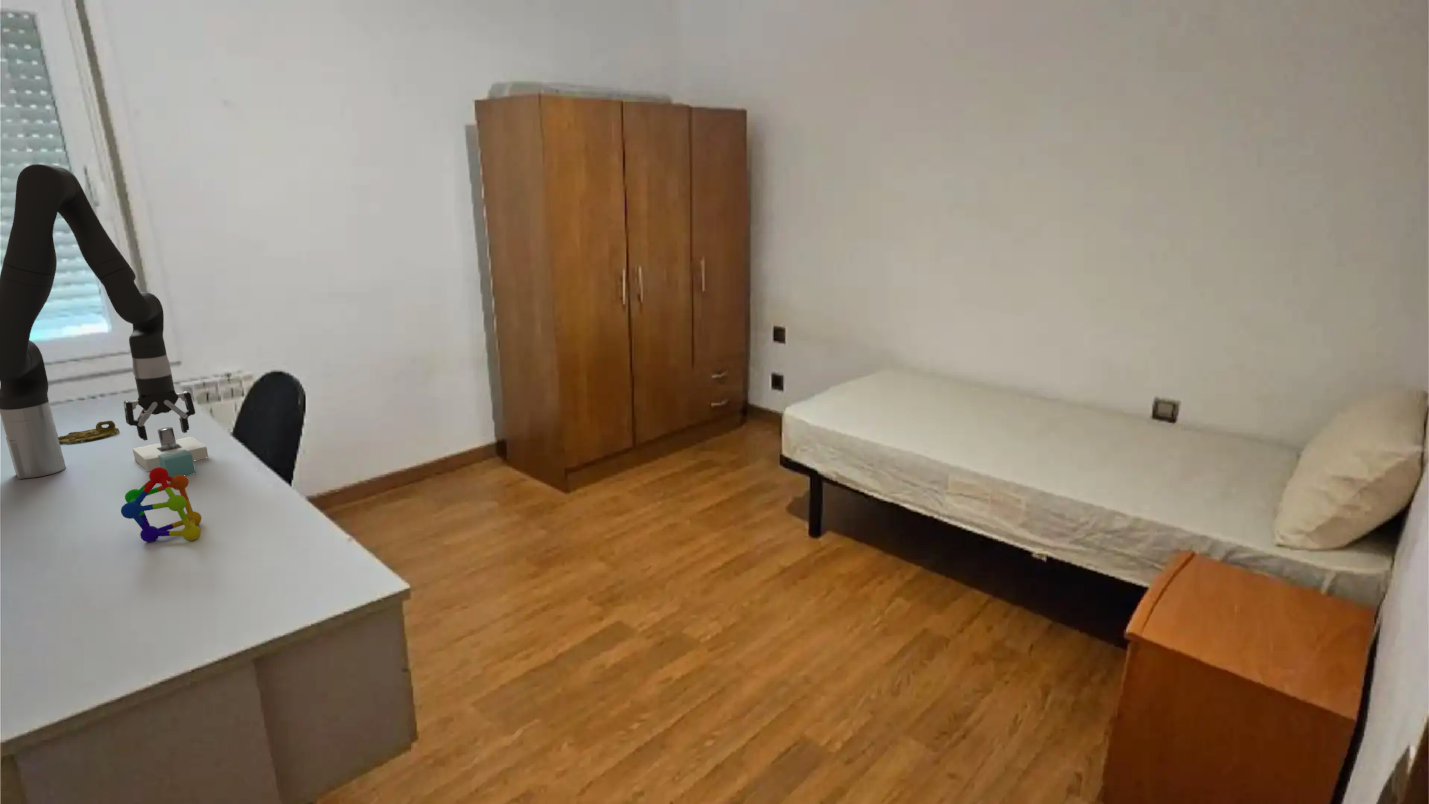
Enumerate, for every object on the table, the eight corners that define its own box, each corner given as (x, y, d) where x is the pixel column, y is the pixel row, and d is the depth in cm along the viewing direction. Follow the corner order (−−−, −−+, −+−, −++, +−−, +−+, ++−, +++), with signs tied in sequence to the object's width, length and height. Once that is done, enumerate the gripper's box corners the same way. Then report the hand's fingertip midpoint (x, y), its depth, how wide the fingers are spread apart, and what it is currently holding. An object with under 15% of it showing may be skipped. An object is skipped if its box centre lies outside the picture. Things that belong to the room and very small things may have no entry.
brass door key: (53, 452, 211) (122, 439, 220) (49, 436, 209) (118, 424, 218) (51, 441, 217) (118, 429, 227) (47, 425, 216) (114, 413, 225)
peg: (166, 461, 198) (160, 431, 196) (162, 459, 200) (155, 429, 198) (181, 458, 201) (174, 428, 198) (176, 455, 203) (170, 426, 200)
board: (148, 471, 192) (145, 460, 191) (135, 459, 200) (132, 448, 199) (208, 457, 201) (206, 446, 200) (193, 447, 209) (191, 436, 208)
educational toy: (125, 542, 156) (107, 470, 153) (200, 523, 164) (185, 454, 161) (134, 561, 144) (116, 484, 141) (215, 540, 153) (199, 466, 150)
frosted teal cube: (168, 480, 186) (164, 460, 185) (162, 474, 190) (157, 455, 188) (195, 473, 190) (191, 454, 189) (188, 468, 194) (184, 449, 192)
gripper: (121, 381, 187) (135, 445, 191) (190, 371, 197) (201, 432, 201) (114, 376, 192) (127, 439, 196) (181, 366, 202) (193, 426, 206)
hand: (165, 435), depth 199 cm, fingers open, 8 cm apart
